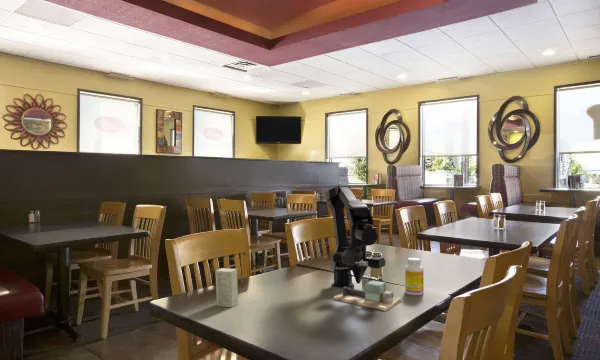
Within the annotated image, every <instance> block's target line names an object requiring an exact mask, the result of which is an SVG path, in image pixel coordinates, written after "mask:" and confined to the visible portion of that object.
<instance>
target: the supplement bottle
mask: <svg viewBox="0 0 600 360" xmlns="http://www.w3.org/2000/svg"><path fill="white" fill-rule="evenodd" d="M421 261H422V260H421V258H418V257H408V258H407V264H406V265H405V267H404V290H405V291H404V292H405V294H407V295H409V296H422V295H423V294H424V267H423V266H422V265H421Z"/></svg>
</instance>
